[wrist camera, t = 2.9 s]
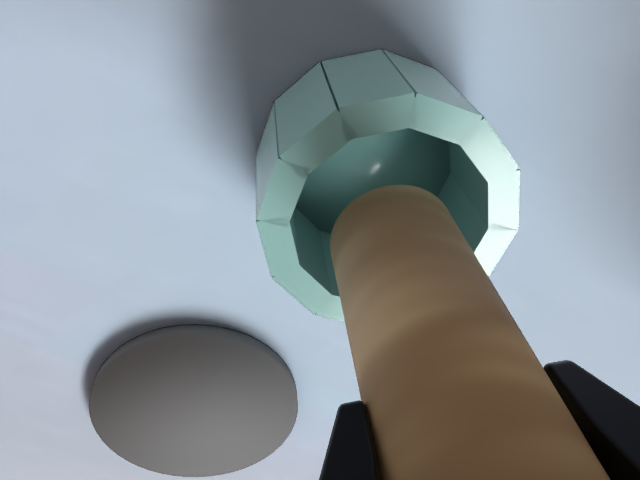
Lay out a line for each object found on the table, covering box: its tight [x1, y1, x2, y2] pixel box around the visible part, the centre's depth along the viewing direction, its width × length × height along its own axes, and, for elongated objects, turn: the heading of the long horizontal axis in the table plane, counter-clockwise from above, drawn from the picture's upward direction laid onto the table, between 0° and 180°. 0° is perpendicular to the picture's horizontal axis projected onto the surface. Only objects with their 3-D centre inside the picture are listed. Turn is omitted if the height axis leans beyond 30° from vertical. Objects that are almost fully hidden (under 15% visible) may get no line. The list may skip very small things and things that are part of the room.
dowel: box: [330, 185, 610, 480], centre depth 10 cm, size 3×3×9 cm
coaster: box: [89, 325, 298, 477], centre depth 22 cm, size 8×8×1 cm
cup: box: [256, 49, 520, 322], centre depth 16 cm, size 7×7×4 cm
